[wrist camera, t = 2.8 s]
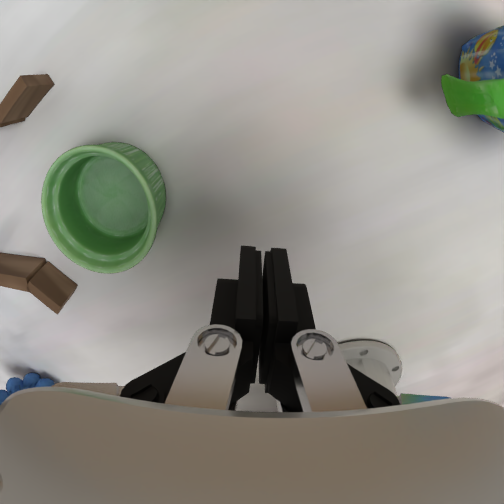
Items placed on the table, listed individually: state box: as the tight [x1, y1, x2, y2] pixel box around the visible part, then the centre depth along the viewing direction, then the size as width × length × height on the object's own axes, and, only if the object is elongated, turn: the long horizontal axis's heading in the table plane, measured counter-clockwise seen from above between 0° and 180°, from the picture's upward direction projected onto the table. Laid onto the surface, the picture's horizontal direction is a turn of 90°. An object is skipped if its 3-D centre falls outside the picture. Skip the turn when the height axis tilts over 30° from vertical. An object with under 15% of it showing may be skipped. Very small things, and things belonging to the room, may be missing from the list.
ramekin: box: [41, 142, 166, 273], centre depth 20 cm, size 9×9×4 cm
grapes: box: [0, 373, 54, 405], centre depth 29 cm, size 12×7×12 cm, turn 90°
